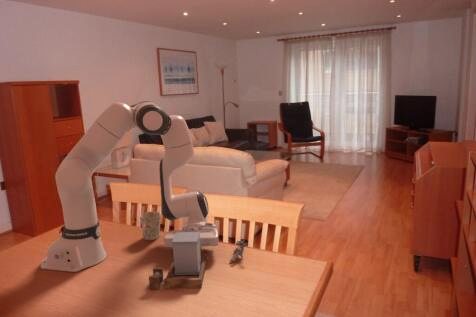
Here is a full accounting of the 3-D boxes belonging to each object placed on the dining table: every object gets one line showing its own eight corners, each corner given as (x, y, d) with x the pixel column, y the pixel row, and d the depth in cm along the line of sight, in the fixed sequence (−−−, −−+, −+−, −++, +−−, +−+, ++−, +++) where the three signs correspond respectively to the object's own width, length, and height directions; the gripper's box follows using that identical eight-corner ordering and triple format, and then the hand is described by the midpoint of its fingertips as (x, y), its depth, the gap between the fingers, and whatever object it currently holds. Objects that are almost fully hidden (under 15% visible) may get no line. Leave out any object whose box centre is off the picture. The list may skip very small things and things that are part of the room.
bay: (149, 289, 113) (148, 277, 112) (163, 260, 131) (162, 249, 130) (201, 289, 112) (200, 276, 111) (207, 259, 130) (206, 248, 129)
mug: (164, 233, 154) (162, 211, 152) (155, 246, 142) (153, 223, 140) (145, 232, 155) (144, 211, 153) (135, 246, 143) (132, 222, 141)
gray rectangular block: (174, 275, 120) (171, 241, 117) (178, 264, 127) (176, 232, 125) (199, 275, 120) (197, 241, 117) (201, 263, 127) (199, 231, 124)
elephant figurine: (219, 259, 131) (231, 242, 137) (231, 270, 131) (242, 252, 137) (232, 251, 124) (244, 233, 130) (245, 262, 124) (256, 244, 130)
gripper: (167, 224, 139) (158, 240, 125) (219, 224, 138) (216, 239, 125) (168, 239, 140) (160, 257, 127) (220, 239, 140) (217, 256, 126)
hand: (188, 248), depth 126 cm, fingers closed, pressing on gray rectangular block
